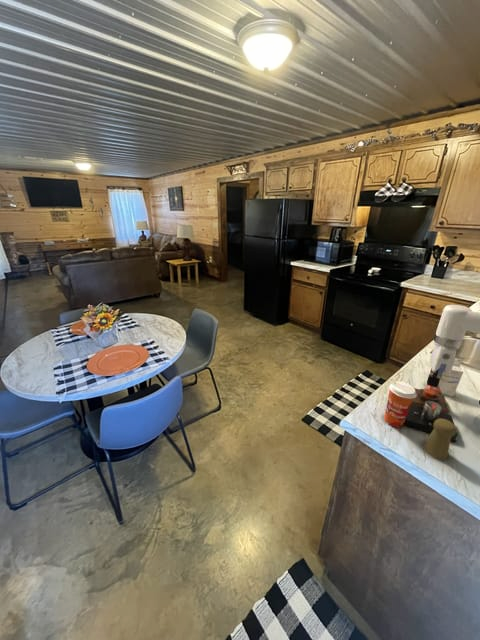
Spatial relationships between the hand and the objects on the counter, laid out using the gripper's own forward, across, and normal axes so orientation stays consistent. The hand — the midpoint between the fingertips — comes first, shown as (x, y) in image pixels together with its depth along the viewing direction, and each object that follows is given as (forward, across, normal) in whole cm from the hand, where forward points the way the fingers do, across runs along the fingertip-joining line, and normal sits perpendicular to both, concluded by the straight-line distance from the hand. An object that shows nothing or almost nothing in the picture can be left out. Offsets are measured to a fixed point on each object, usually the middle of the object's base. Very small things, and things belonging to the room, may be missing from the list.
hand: (431, 385), depth 97 cm
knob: (+5, -13, +1) cm, 14 cm away
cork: (+8, -25, 0) cm, 26 cm away
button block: (+8, 0, 0) cm, 8 cm away
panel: (+8, -13, +1) cm, 15 cm away
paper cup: (+8, -17, +11) cm, 22 cm away
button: (+5, 0, 0) cm, 5 cm away
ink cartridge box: (+8, +12, -6) cm, 16 cm away
